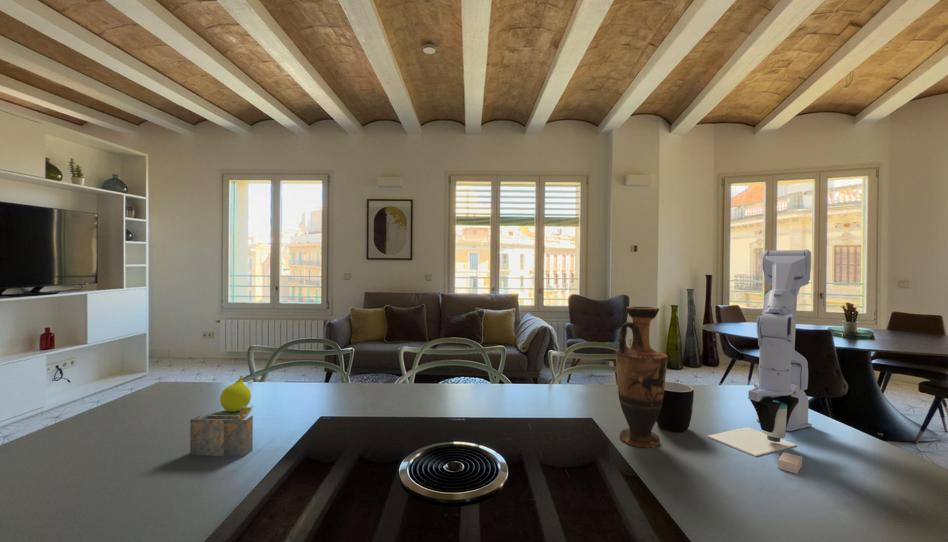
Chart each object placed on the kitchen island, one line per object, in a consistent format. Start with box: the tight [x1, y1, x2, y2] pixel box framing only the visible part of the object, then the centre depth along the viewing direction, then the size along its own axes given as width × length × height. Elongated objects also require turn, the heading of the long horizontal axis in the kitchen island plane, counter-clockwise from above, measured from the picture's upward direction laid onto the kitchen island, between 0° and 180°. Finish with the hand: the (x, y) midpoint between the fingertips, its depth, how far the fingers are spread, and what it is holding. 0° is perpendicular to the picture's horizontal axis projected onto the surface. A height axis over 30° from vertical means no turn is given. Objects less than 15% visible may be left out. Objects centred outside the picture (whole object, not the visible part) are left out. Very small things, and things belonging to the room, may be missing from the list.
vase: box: [615, 305, 669, 448], centre depth 96 cm, size 11×11×30 cm
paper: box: [706, 426, 798, 457], centre depth 96 cm, size 14×11×1 cm
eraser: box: [777, 451, 803, 475], centre depth 84 cm, size 5×3×2 cm, turn 134°
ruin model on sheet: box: [189, 405, 254, 457], centre depth 87 cm, size 11×3×10 cm, turn 88°
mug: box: [655, 381, 695, 434], centre depth 105 cm, size 12×9×10 cm
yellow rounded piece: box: [219, 371, 252, 413], centre depth 112 cm, size 7×7×10 cm
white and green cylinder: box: [762, 400, 787, 442], centre depth 94 cm, size 4×4×8 cm
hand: (773, 429), depth 94 cm, fingers closed on white and green cylinder, 4 cm apart
